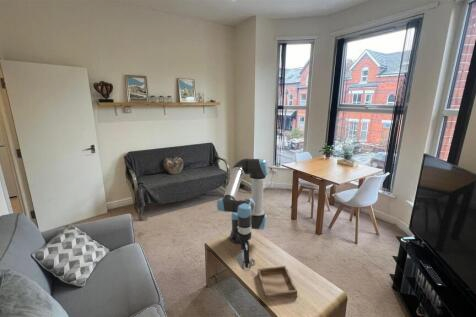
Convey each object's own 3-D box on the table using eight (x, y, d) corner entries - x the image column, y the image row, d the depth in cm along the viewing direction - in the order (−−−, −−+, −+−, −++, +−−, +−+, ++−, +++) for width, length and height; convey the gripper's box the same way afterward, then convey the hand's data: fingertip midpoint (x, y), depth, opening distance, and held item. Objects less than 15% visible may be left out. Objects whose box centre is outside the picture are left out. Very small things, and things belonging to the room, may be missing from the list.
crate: (257, 274, 145) (257, 268, 144) (285, 271, 147) (285, 265, 146) (265, 301, 126) (265, 295, 125) (297, 297, 128) (297, 291, 127)
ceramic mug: (241, 273, 130) (242, 261, 128) (235, 263, 137) (235, 252, 135) (258, 267, 134) (258, 256, 132) (251, 258, 142) (251, 247, 140)
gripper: (235, 221, 139) (236, 253, 145) (240, 244, 118) (241, 279, 124) (247, 220, 140) (248, 251, 146) (255, 242, 119) (255, 278, 125)
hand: (245, 264), depth 135 cm, fingers closed on ceramic mug, 9 cm apart
